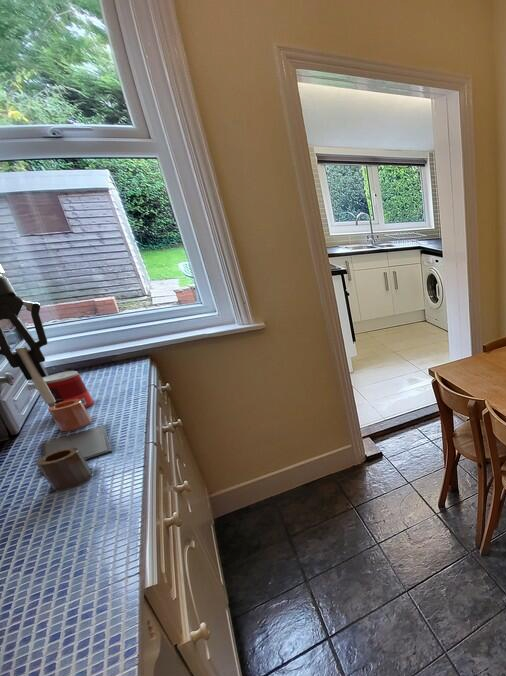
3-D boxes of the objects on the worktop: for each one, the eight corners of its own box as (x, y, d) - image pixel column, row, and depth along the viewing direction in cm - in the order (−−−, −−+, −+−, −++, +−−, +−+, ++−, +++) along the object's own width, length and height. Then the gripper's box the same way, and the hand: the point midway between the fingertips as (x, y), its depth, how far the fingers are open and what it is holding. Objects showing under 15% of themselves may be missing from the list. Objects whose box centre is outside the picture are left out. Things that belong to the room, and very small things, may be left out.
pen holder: (54, 433, 111) (40, 411, 108) (74, 422, 117) (62, 400, 114) (80, 431, 112) (67, 408, 109) (98, 419, 118) (86, 398, 115)
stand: (45, 493, 87) (27, 466, 84) (70, 475, 93) (54, 449, 90) (77, 489, 87) (60, 462, 85) (101, 471, 93) (86, 445, 90)
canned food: (100, 400, 130) (83, 368, 125) (85, 411, 123) (66, 378, 118) (70, 405, 128) (52, 373, 123) (53, 417, 121) (33, 383, 116)
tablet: (113, 453, 100) (111, 450, 100) (43, 477, 92) (40, 473, 92) (105, 427, 113) (103, 424, 113) (43, 446, 105) (41, 443, 105)
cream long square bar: (45, 408, 100) (12, 349, 95) (52, 405, 102) (20, 347, 97) (53, 407, 100) (20, 348, 95) (60, 404, 102) (28, 346, 97)
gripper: (-79, 285, 82) (-11, 391, 92) (29, 273, 91) (79, 371, 101) (-72, 281, 87) (-9, 383, 96) (30, 271, 96) (78, 364, 106)
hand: (36, 376), depth 99 cm, fingers closed on cream long square bar, 2 cm apart
